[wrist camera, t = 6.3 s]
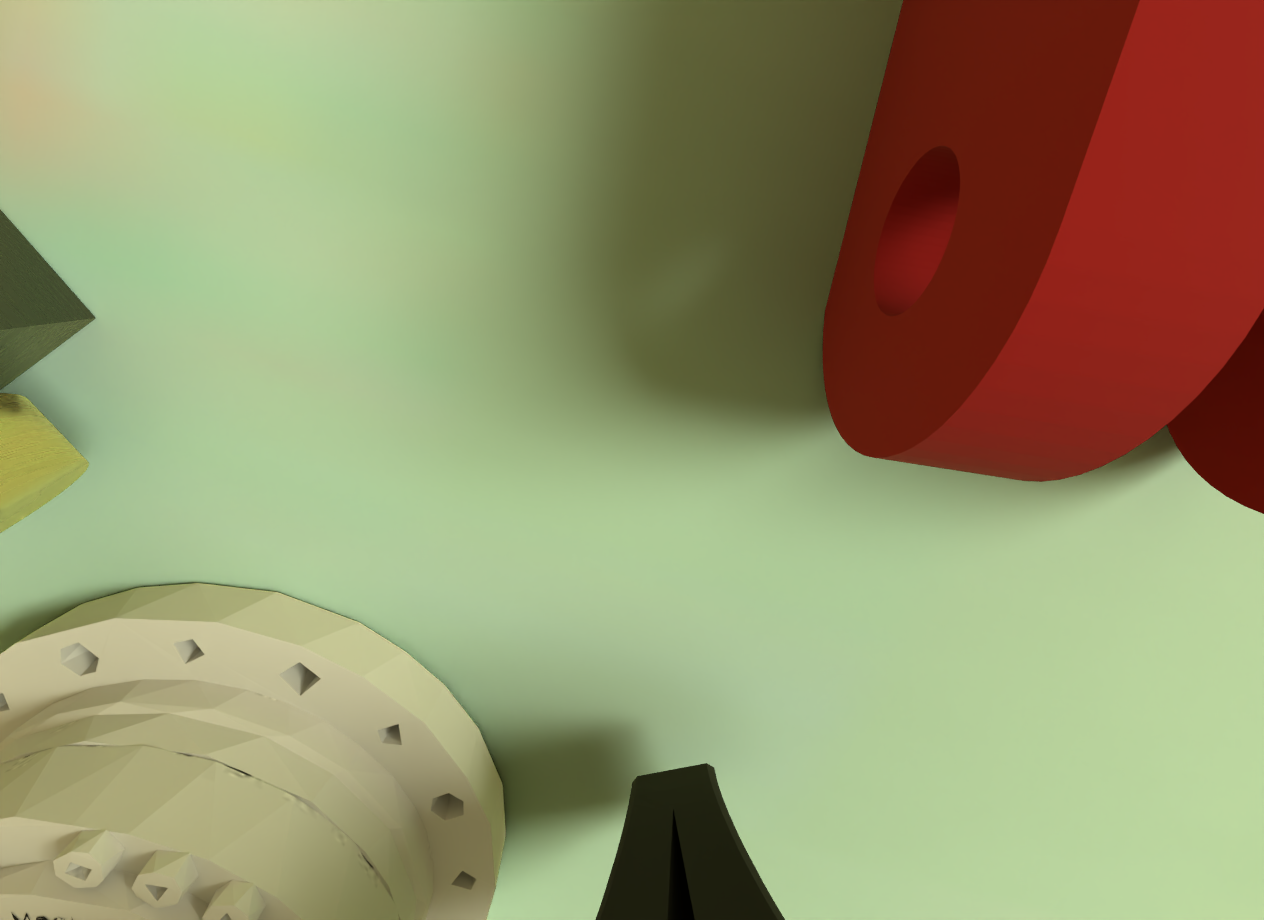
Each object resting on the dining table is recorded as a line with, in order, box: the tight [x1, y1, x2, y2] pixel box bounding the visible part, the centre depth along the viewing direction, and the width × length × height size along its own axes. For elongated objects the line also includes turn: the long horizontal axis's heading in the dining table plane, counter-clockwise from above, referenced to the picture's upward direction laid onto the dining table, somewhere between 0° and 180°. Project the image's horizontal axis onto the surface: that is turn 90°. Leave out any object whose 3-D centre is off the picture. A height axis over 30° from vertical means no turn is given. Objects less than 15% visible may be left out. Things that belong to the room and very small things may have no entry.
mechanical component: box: [0, 583, 506, 920], centre depth 10 cm, size 10×4×10 cm
